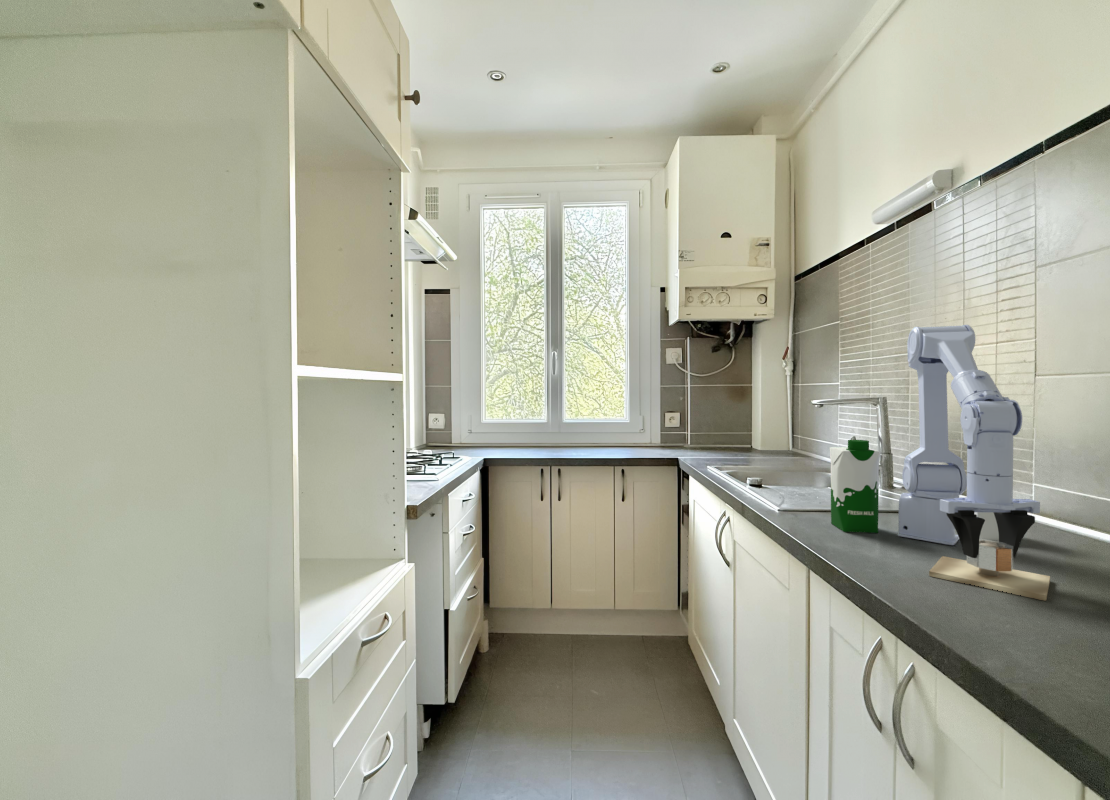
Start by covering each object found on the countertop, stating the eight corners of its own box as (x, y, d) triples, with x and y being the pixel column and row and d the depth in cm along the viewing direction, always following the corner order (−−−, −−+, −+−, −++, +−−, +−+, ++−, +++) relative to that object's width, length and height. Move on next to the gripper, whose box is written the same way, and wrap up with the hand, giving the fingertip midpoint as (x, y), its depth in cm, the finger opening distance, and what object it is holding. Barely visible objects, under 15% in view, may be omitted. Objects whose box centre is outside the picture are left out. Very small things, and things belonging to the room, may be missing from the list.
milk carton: (841, 533, 109) (841, 441, 109) (825, 522, 118) (825, 437, 118) (884, 534, 108) (885, 441, 108) (865, 523, 117) (865, 437, 117)
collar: (958, 559, 85) (959, 538, 85) (992, 559, 85) (992, 538, 85) (986, 571, 80) (986, 549, 80) (1022, 571, 80) (1022, 549, 80)
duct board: (929, 575, 84) (929, 543, 84) (942, 560, 92) (942, 530, 91) (1046, 601, 74) (1046, 563, 74) (1050, 581, 81) (1050, 547, 81)
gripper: (963, 478, 79) (962, 564, 79) (1058, 477, 78) (1057, 564, 78) (930, 470, 86) (930, 550, 86) (1018, 470, 85) (1017, 550, 85)
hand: (988, 556), depth 83 cm, fingers closed on collar, 5 cm apart
